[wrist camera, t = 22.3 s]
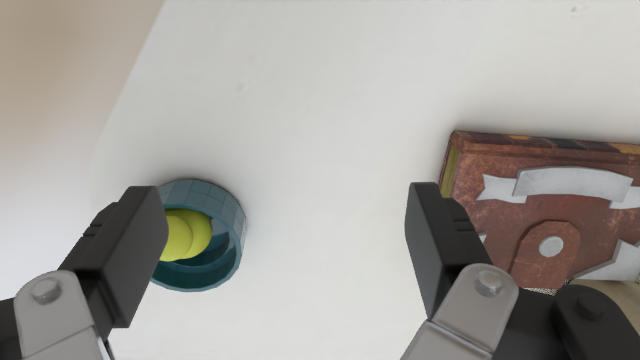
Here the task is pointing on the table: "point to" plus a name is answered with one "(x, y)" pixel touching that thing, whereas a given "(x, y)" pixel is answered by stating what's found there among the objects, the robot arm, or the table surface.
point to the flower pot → (619, 296)
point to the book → (549, 205)
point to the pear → (186, 233)
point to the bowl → (223, 246)
